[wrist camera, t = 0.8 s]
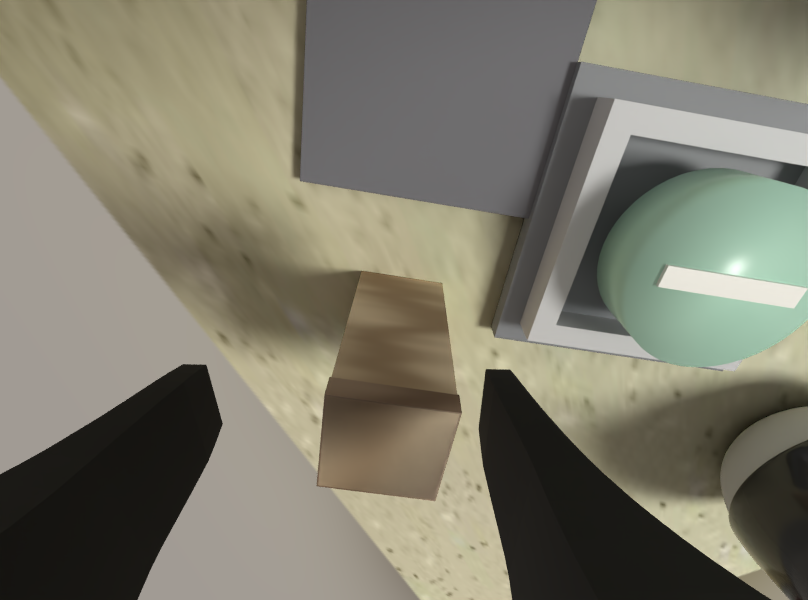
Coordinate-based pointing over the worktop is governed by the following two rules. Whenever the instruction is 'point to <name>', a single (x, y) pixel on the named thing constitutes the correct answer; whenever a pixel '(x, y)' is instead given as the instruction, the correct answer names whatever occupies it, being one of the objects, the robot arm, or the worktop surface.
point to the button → (709, 266)
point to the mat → (438, 96)
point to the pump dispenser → (772, 497)
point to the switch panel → (628, 190)
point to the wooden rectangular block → (391, 392)
